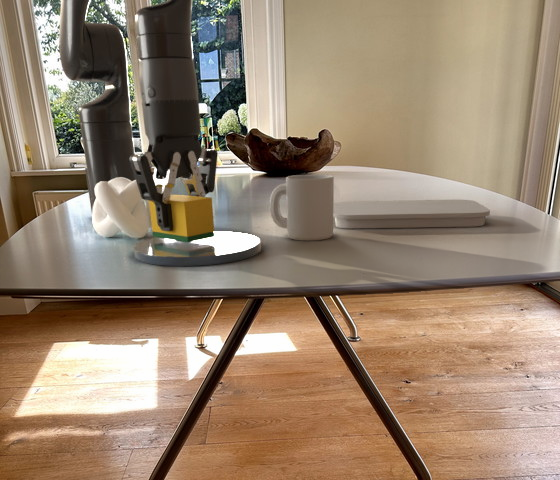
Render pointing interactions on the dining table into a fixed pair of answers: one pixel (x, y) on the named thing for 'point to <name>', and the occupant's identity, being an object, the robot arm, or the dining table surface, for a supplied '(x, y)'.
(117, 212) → the white knot sculpture
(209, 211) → the sponge
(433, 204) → the grey flat slab
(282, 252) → the dining table surface
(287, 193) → the cup
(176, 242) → the plate
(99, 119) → the robot arm
